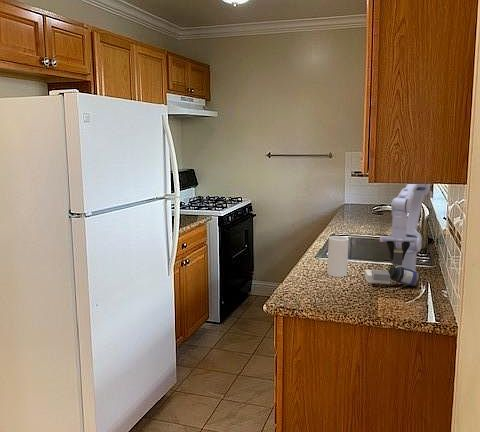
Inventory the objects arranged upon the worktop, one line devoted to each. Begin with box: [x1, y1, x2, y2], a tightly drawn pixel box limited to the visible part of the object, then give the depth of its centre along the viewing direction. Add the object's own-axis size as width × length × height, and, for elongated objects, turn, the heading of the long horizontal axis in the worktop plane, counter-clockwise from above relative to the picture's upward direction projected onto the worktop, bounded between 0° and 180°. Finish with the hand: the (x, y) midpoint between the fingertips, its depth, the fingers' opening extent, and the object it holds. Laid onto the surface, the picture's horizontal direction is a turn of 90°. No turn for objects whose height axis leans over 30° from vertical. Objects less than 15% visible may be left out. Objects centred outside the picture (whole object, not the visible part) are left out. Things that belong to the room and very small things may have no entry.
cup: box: [326, 235, 350, 278], centre depth 201 cm, size 8×8×16 cm
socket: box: [364, 269, 391, 285], centre depth 195 cm, size 9×9×3 cm
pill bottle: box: [387, 265, 421, 287], centre depth 187 cm, size 6×6×11 cm
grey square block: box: [371, 269, 391, 282], centre depth 186 cm, size 6×6×2 cm
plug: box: [391, 248, 403, 266], centre depth 196 cm, size 4×4×6 cm
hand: (396, 259), depth 196 cm, fingers closed on plug, 3 cm apart
